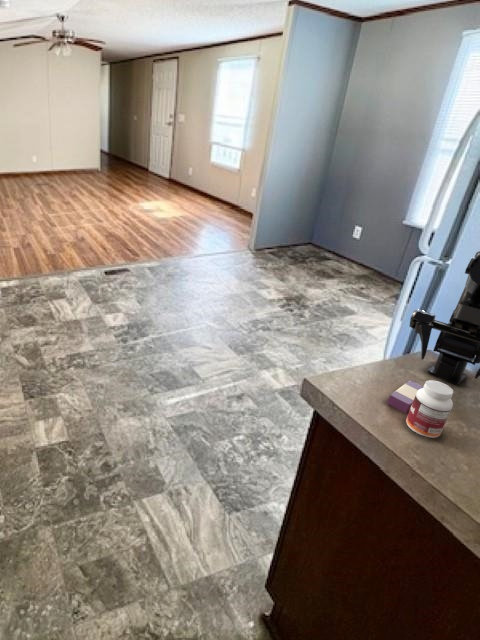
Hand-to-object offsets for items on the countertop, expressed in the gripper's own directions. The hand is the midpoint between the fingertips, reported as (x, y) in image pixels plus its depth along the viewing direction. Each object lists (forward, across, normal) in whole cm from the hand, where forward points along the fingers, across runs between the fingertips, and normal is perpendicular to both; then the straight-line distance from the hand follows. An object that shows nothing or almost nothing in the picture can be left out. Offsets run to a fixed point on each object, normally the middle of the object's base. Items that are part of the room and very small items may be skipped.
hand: (448, 368), depth 90 cm
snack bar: (+8, -5, +10) cm, 14 cm away
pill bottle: (+14, 0, +5) cm, 14 cm away
